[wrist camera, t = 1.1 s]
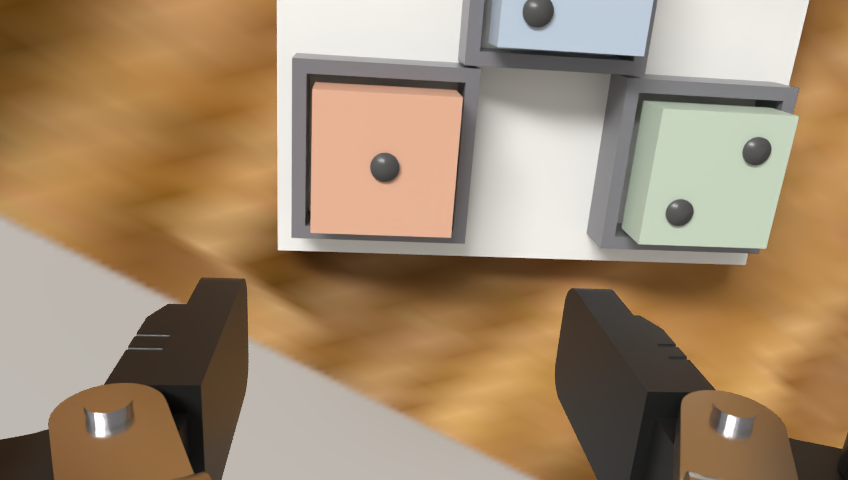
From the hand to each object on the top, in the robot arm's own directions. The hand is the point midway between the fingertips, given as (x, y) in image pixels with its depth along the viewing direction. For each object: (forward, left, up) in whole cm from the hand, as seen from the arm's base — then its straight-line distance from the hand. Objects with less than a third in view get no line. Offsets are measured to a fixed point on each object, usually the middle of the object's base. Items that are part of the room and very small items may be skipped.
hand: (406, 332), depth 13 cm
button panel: (-6, -3, -18) cm, 19 cm away
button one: (0, 0, -14) cm, 14 cm away
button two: (-12, 0, -14) cm, 18 cm away
